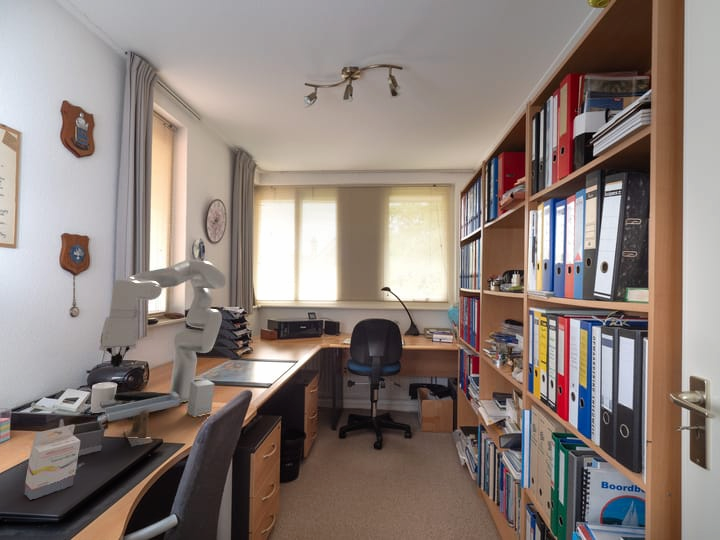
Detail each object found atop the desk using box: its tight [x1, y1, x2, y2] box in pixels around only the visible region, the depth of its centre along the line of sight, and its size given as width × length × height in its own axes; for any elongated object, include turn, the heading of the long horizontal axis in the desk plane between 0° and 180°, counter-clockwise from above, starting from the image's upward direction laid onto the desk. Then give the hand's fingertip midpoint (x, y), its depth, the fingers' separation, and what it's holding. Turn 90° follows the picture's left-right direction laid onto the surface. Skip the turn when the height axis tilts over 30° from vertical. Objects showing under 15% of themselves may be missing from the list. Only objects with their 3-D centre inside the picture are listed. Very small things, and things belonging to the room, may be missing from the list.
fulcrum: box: [123, 410, 151, 438], centre depth 114 cm, size 6×12×10 cm, turn 46°
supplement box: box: [186, 379, 216, 418], centre depth 139 cm, size 7×7×13 cm
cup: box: [57, 418, 106, 450], centre depth 103 cm, size 10×8×9 cm
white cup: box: [90, 381, 118, 414], centre depth 131 cm, size 8×8×10 cm
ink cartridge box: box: [24, 424, 80, 490], centre depth 84 cm, size 9×5×15 cm, turn 150°
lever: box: [100, 391, 181, 422], centre depth 117 cm, size 21×15×4 cm
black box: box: [114, 390, 170, 420], centre depth 135 cm, size 18×9×20 cm
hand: (115, 366), depth 117 cm, fingers closed
